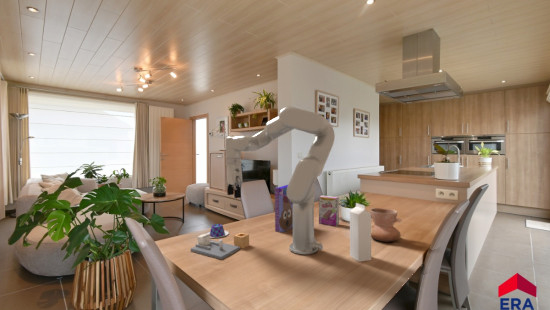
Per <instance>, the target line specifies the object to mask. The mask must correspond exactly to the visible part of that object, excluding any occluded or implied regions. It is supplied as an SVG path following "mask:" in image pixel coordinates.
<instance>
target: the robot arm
mask: <svg viewBox="0 0 550 310" xmlns="http://www.w3.org/2000/svg"><path fill="white" fill-rule="evenodd" d="M293 130H298V131H301V132H305V133H307V134H310V135H314V139H313V141H312V144H311V145H310V148H309V150H308V153H307V154H306V156H305V157H303V158H302V159H300V160H299V161H298V163H297V164H296V166H295V167H294V168H295V169H294V171H293V173H292V175H291V178H290V179H289V182H288V184H287V185H288V187H287V197H288V199H289V200H290V201H291V202H292V203H293V227H292V243H290V245H289V251H290V252H291V253H294V254H297V255H312V254H315V253H316V252H317V251H318V250H324V249H323V248H324V246H323V243H321V242H317V239H316V238H315V198H316V197H315V194H316V191H315V190H316V189H315V185H314V184H315V182H316V181H317V178H318V177H319V176H321V174H323V171H324V167H325V164H326V163H327V161H328V158H329V155H330V153H331V150H332V148H333V146H334V142H335V136H336V135H335V130H334V128H333V125H332V124H331V122H329V120H328V119H327V118H326V117H324V116H323V115H321V114H319V113H318V112H315V111H314V112H313V111H310V110H305V109H302V108H298V107H294V106H291V105H290V106H285V107H284V108H282V109H280V111H279V113H278V116H276V117H274V118H272V119H271V120H269V121H267V122H266V123H265V127H264V129H263V130H261V131H260V132H258V133H256V134H254V135H252V136H251V135H239V136H227V137H226V138H225V166H226V183H227V184H226V187H227V188H226V189H227V191H226V192H227V195H228V196H232V195H234V197H233V198H234V199H239V198H240V199H241V198H242V185H243V172H242V171H243V170H242V152H255V151H259V150H260V149H262V148H264V147H266V146H268V145H269V144H271V143H272V142H274V141H275V140H276V139H278V138H279V137H282V136H283V135H285V134H287V133H289V132H291V131H293Z"/></svg>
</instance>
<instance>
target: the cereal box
mask: <svg viewBox="0 0 550 310" xmlns="http://www.w3.org/2000/svg"><path fill="white" fill-rule="evenodd" d="M287 187H288V184H286V185H282V186H278V187H275V188H274V227H275V228H274V230H275V231H274V232H276V233H277V232H278V233H282V234H283V233H285V232H286V231H288V230H290V229H293V203H292V202H291V201H290V200H289V199H288V197H287Z"/></svg>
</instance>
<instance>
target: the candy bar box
mask: <svg viewBox="0 0 550 310" xmlns="http://www.w3.org/2000/svg"><path fill="white" fill-rule="evenodd" d="M318 224H321V225H327V226H333V227H338V226H339V225H340V197H339V196H330V195H320V196H318Z"/></svg>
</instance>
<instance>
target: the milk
mask: <svg viewBox="0 0 550 310" xmlns="http://www.w3.org/2000/svg"><path fill="white" fill-rule="evenodd" d="M371 227H372V218H371V211H370V212H369V211H368V210H367V209H366V206H365V204H361V203H358V202H356V203H355V207H353V208H351V210H349V256H350V257H351V258H352V259H354V260H355V261H357V262H359V263H360V262H365V261H371V260H372V237H371Z"/></svg>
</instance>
